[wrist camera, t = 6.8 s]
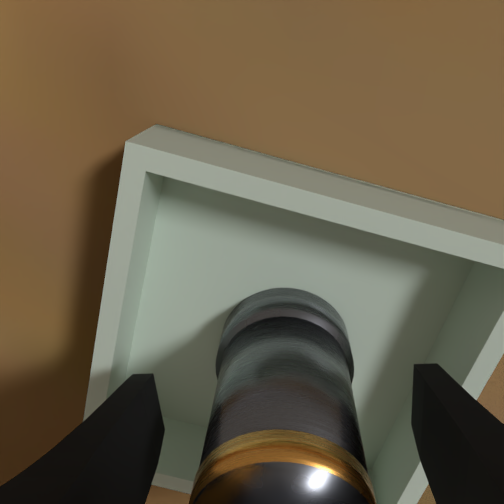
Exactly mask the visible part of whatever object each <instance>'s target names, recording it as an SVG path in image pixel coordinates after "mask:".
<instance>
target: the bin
mask: <svg viewBox="0 0 504 504" xmlns="http://www.w3.org/2000/svg"><path fill="white" fill-rule="evenodd" d="M272 288H295V289H300V290H304V291H308V292H310V293H313V294H315V295H317V296H319V297H321V298H322V299H324V300H325V301H327V302H328V303H329V304H330V305H331V306H332V307H334V308H335V310H336V311H337V312H338V313H339V314H340V316H341V318H342V319H343V321H344V324H345V326H346V329H347V333H348V337H349V342H350V347H351V351H352V356H353V361H354V377H353V381H352V391H353V396H354V401H355V407H356V412H357V417H358V423H359V428H360V433H361V438H362V444H363V449H364V454H365V460H366V465H367V470H368V476H369V478H370V480H371V482H372V486H373V490H374V495H375V500H376V504H417V503H418V501H419V499H420V497H421V496H422V494H423V492H424V490H425V489H426V487H427V485H428V480H427V477H426V475H425V472H424V469H423V467H422V464H421V461H420V458H419V454H418V450H417V446H416V443H415V438H414V434H413V430H412V426H411V413H412V392H413V370H414V364H431V363H437V364H439V365H440V366H441V367H442V368H443V369H444V370H445V371H446V372H447V373H448V374H449V375H450V376H451V377H452V378H453V379H454V380H455V381H456V382H457V383H458V384H459V385H460V386H462V387H463V388H464V389H465V390H466V391H467V392H468V393H469V394H470V395H471V396H472V397H473V398H474V399H475V400H477V398H478V397H479V395H480V393H481V392H482V390H483V388H484V386H485V385H486V383H487V381H488V379H489V378H490V376H491V374H492V372H493V371H494V369H495V367H496V366H497V364H498V362H499V360H500V359H501V357H502V355H503V353H504V220H501V219H498V218H494V217H491V216H487V215H483V214H480V213H476V212H473V211H469V210H465V209H462V208H458V207H454V206H451V205H447V204H444V203H440V202H436V201H433V200H429V199H426V198H422V197H418V196H415V195H411V194H408V193H404V192H400V191H397V190H393V189H389V188H386V187H382V186H379V185H375V184H371V183H368V182H364V181H361V180H357V179H353V178H350V177H346V176H343V175H339V174H335V173H332V172H328V171H325V170H321V169H317V168H314V167H310V166H306V165H303V164H299V163H296V162H292V161H288V160H285V159H281V158H278V157H274V156H270V155H267V154H263V153H260V152H256V151H252V150H249V149H245V148H241V147H238V146H234V145H231V144H227V143H223V142H220V141H216V140H213V139H209V138H205V137H202V136H198V135H195V134H191V133H187V132H184V131H180V130H176V129H173V128H169V127H166V126H162V125H158V124H156V125H154V126H152V127H150V128H149V129H147V130H145V131H143V132H141V133H140V134H138V135H136V136H134V137H132V138H130V139H129V140H127V141H126V142H125V149H124V156H123V162H122V169H121V175H120V182H119V188H118V195H117V202H116V208H115V215H114V221H113V228H112V234H111V241H110V248H109V254H108V261H107V267H106V274H105V280H104V287H103V294H102V300H101V307H100V313H99V320H98V326H97V333H96V340H95V346H94V353H93V359H92V366H91V372H90V379H89V386H88V392H87V399H86V405H85V412H84V418H83V421H84V420H86V419H87V418H88V417H89V416H90V415H91V414H92V413H93V412H94V411H95V410H96V409H97V408H98V407H99V406H100V405H101V404H102V403H103V402H104V401H105V400H106V399H107V398H108V397H109V396H110V395H111V394H112V393H113V392H114V391H115V390H116V389H117V388H118V387H120V386H121V385H122V384H123V383H124V382H125V381H126V380H127V379H128V378H129V377H130V376H131V375H132V374H148V373H153V374H154V379H155V384H156V389H157V393H158V398H159V403H160V408H161V413H162V417H163V422H164V427H165V432H164V438H163V443H162V448H161V453H160V457H159V462H158V466H157V469H156V472H155V475H154V478H153V481H152V484H151V485H155V486H159V487H163V488H167V489H171V490H175V491H179V492H184V493H188V494H191V492H192V487H193V483H194V479H195V475H196V473H197V471H198V469H199V465H200V460H201V456H202V451H203V446H204V442H205V437H206V433H207V428H208V423H209V419H210V414H211V409H212V405H213V400H214V395H215V391H216V386H217V381H218V380H217V376H216V367H215V364H216V356H217V352H218V348H219V344H220V339H221V335H222V331H223V327H224V324H225V322H226V319H227V318H228V316H229V314H230V313H231V312H232V310H233V309H234V308H235V307H236V306H237V305H238V304H239V303H240V302H241V301H243V300H244V299H246V298H247V297H249V296H251V295H253V294H255V293H258V292H260V291H263V290H267V289H272Z"/></svg>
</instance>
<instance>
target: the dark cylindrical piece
mask: <svg viewBox="0 0 504 504" xmlns="http://www.w3.org/2000/svg"><path fill="white" fill-rule="evenodd" d="M215 367H216V376H217V380H218V381H217V386H216V391H215V395H214V400H213V405H212V409H211V414H210V419H209V423H208V428H207V433H206V437H205V442H204V446H203V451H202V456H201V460H200V465H199V469H198V471H197V473H196V475H195V479H194V483H193V487H192V492H191V496H190V501H189V504H376V500H375V495H374V490H373V486H372V482H371V480H370V478H369V476H368V470H367V465H366V460H365V454H364V449H363V444H362V438H361V433H360V428H359V423H358V417H357V412H356V407H355V401H354V396H353V391H352V381H353V377H354V361H353V356H352V351H351V347H350V342H349V337H348V333H347V329H346V326H345V324H344V321H343V319H342V318H341V316H340V314H339V313H338V312H337V311H336V310H335V308H334V307H332V306H331V305H330V304H329V303H328V302H327V301H325V300H324V299H322V298H321V297H319V296H317V295H315V294H313V293H310V292H308V291H304V290H300V289H295V288H272V289H267V290H263V291H260V292H258V293H255V294H253V295H251V296H249V297H247V298H246V299H244V300H243V301H241V302H240V303H239V304H238V305H237V306H236V307H235V308H234V309H233V310H232V312H231V313H230V314H229V316H228V318H227V319H226V322H225V324H224V327H223V331H222V335H221V339H220V344H219V348H218V352H217V356H216V364H215Z"/></svg>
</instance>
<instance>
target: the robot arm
mask: <svg viewBox="0 0 504 504" xmlns="http://www.w3.org/2000/svg"><path fill="white" fill-rule="evenodd" d="M411 426H412V430H413V434H414V438H415V443H416V446H417V450H418V454H419V458H420V461H421V464H422V467H423V469H424V472H425V475H426V477H427V480H428V483H429V485H430V488H431V491H432V493H433V496H434V498H435V501H436V504H504V424H503V423H501V422H500V421H499V420H498V419H497V418H496V417H494V416H493V415H492V414H491V413H490V412H489V411H488V410H487V409H485V408H484V407H483V406H482V405H481V404H480V403H479V402H478V401H476V400H475V399H474V398H473V397H472V396H471V395H470V394H469V393H468V392H467V391H466V390H465V389H464V388H463V387H462V386H460V385H459V384H458V383H457V382H456V381H455V380H454V379H453V378H452V377H451V376H450V375H449V374H448V373H447V372H446V371H445V370H444V369H443V368H442V367H441V366H440V365H439V364H437V363H431V364H414V370H413V392H412V413H411ZM164 432H165V427H164V422H163V417H162V413H161V408H160V403H159V398H158V393H157V389H156V384H155V379H154V374H153V373H148V374H132V375H131V376H130V377H129V378H128V379H127V380H126V381H125V382H124V383H123V384H122V385H121V386H120V387H118V388H117V389H116V390H115V391H114V392H113V393H112V394H111V395H110V396H109V397H108V398H107V399H106V400H105V401H104V402H103V403H102V404H101V405H100V406H99V407H98V408H97V409H96V410H95V411H94V412H93V413H92V414H91V415H90V416H89V417H88V418H87V419H86V420H84V421H83V422H82V423H81V424H80V425H79V426H78V427H77V428H75V429H74V430H73V431H72V432H71V433H70V434H69V435H67V436H66V437H65V438H64V439H63V440H62V441H61V442H60V443H58V444H57V445H56V446H55V447H54V448H52V449H51V450H50V451H49V452H48V453H46V454H45V455H44V456H42V457H41V458H40V459H39V460H37V461H36V462H35V463H33V464H32V465H31V466H29V467H28V468H27V469H25V470H24V471H23V472H21V473H20V474H18V475H17V476H15V477H14V478H13V479H11V480H9V481H8V482H6V483H5V484H3V485H2V486H0V504H145V502H146V499H147V496H148V493H149V490H150V487H151V484H152V481H153V478H154V475H155V472H156V469H157V466H158V462H159V457H160V453H161V448H162V443H163V438H164Z"/></svg>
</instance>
